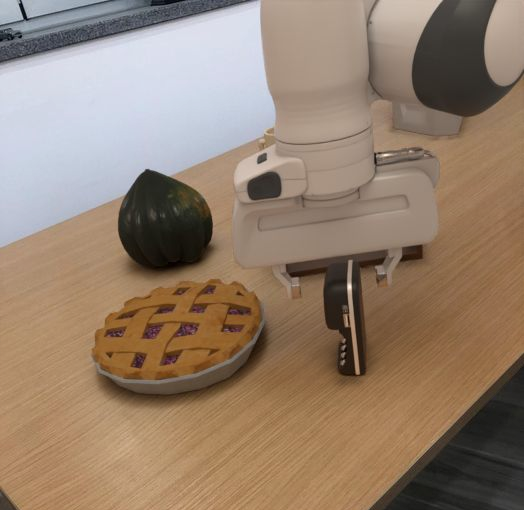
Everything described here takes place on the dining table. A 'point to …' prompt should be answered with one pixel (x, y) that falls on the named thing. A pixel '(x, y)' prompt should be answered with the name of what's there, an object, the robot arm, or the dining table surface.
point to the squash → (163, 221)
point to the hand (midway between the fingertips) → (338, 290)
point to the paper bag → (425, 120)
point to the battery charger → (346, 314)
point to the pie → (179, 337)
